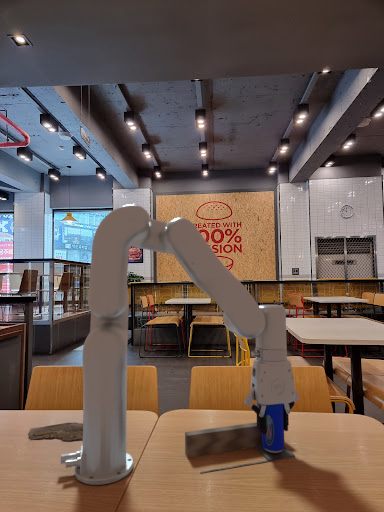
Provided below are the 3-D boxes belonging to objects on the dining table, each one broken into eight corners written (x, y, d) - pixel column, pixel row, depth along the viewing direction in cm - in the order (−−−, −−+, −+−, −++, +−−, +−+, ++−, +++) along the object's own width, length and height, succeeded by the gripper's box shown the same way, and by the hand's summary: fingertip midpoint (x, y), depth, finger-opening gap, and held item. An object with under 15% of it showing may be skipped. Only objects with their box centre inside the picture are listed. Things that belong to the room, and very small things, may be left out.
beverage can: (258, 446, 83) (257, 383, 84) (274, 441, 85) (273, 381, 86) (271, 455, 78) (270, 389, 79) (288, 451, 80) (287, 386, 82)
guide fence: (196, 474, 72) (195, 449, 73) (185, 453, 81) (185, 432, 82) (300, 456, 80) (300, 434, 80) (280, 438, 88) (279, 419, 89)
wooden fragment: (16, 440, 89) (16, 436, 89) (39, 423, 100) (39, 419, 100) (110, 444, 87) (110, 440, 87) (123, 426, 98) (123, 423, 98)
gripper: (246, 360, 78) (247, 441, 76) (310, 355, 82) (312, 432, 81) (233, 353, 85) (234, 428, 83) (292, 349, 89) (294, 420, 88)
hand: (272, 429), depth 82 cm, fingers closed on beverage can, 5 cm apart
